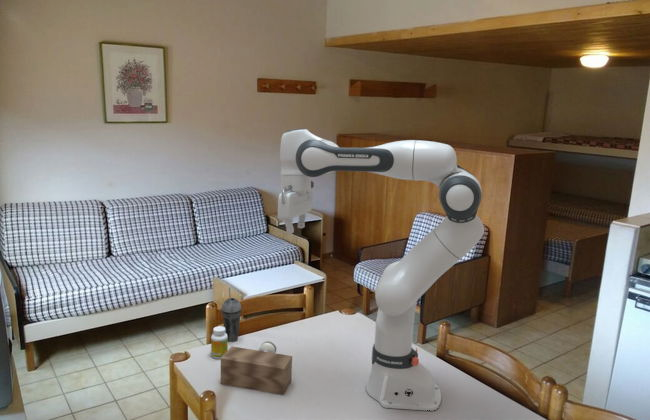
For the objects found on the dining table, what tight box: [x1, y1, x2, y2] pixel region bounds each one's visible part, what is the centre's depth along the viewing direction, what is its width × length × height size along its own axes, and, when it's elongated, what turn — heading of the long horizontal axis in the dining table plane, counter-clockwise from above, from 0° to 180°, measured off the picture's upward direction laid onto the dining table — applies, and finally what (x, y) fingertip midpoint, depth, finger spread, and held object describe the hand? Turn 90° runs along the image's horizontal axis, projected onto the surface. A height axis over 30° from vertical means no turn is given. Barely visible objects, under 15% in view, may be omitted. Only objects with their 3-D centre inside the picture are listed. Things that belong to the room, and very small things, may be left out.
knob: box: [258, 340, 278, 354], centre depth 158 cm, size 5×9×5 cm, turn 166°
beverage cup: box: [221, 287, 243, 343], centre depth 178 cm, size 7×7×20 cm
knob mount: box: [220, 345, 293, 396], centre depth 152 cm, size 20×8×8 cm, turn 76°
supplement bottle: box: [210, 325, 229, 360], centre depth 167 cm, size 5×5×10 cm
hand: (295, 230), depth 149 cm, fingers open, 8 cm apart
